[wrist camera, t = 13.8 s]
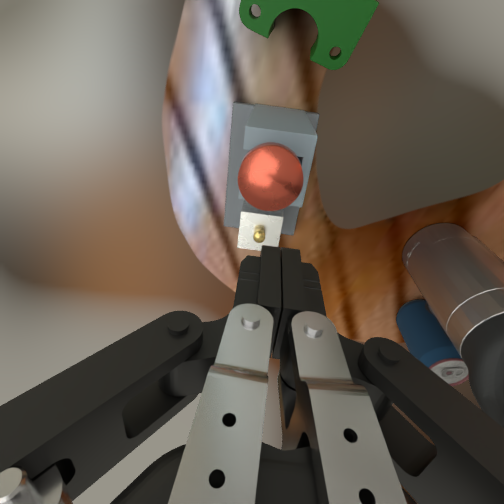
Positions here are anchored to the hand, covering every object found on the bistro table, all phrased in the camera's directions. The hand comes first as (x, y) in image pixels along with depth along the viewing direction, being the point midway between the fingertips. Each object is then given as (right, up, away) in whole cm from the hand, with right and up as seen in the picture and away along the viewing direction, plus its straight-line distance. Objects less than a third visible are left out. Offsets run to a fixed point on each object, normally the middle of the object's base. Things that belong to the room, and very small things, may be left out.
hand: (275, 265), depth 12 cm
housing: (0, +6, +30) cm, 30 cm away
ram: (+1, +13, +22) cm, 26 cm away
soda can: (+26, -9, +39) cm, 48 cm away
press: (+1, +11, +28) cm, 30 cm away
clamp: (+4, +25, +19) cm, 32 cm away
